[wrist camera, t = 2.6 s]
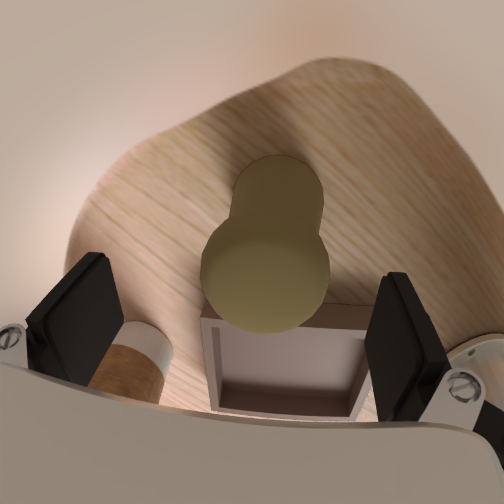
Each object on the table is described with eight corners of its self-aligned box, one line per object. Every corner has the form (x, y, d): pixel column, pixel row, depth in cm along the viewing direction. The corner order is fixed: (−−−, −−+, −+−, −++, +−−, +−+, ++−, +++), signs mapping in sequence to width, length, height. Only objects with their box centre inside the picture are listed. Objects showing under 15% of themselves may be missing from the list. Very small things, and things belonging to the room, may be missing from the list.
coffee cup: (99, 302, 28) (12, 423, 15) (182, 318, 27) (113, 471, 14) (117, 362, 32) (57, 473, 19) (189, 379, 31) (144, 508, 18)
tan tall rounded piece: (286, 256, 23) (275, 376, 13) (216, 206, 22) (153, 302, 12) (342, 193, 20) (380, 287, 11) (268, 136, 19) (238, 179, 10)
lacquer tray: (384, 306, 24) (392, 331, 21) (353, 398, 29) (355, 421, 27) (209, 293, 25) (199, 317, 23) (217, 387, 31) (211, 410, 28)
